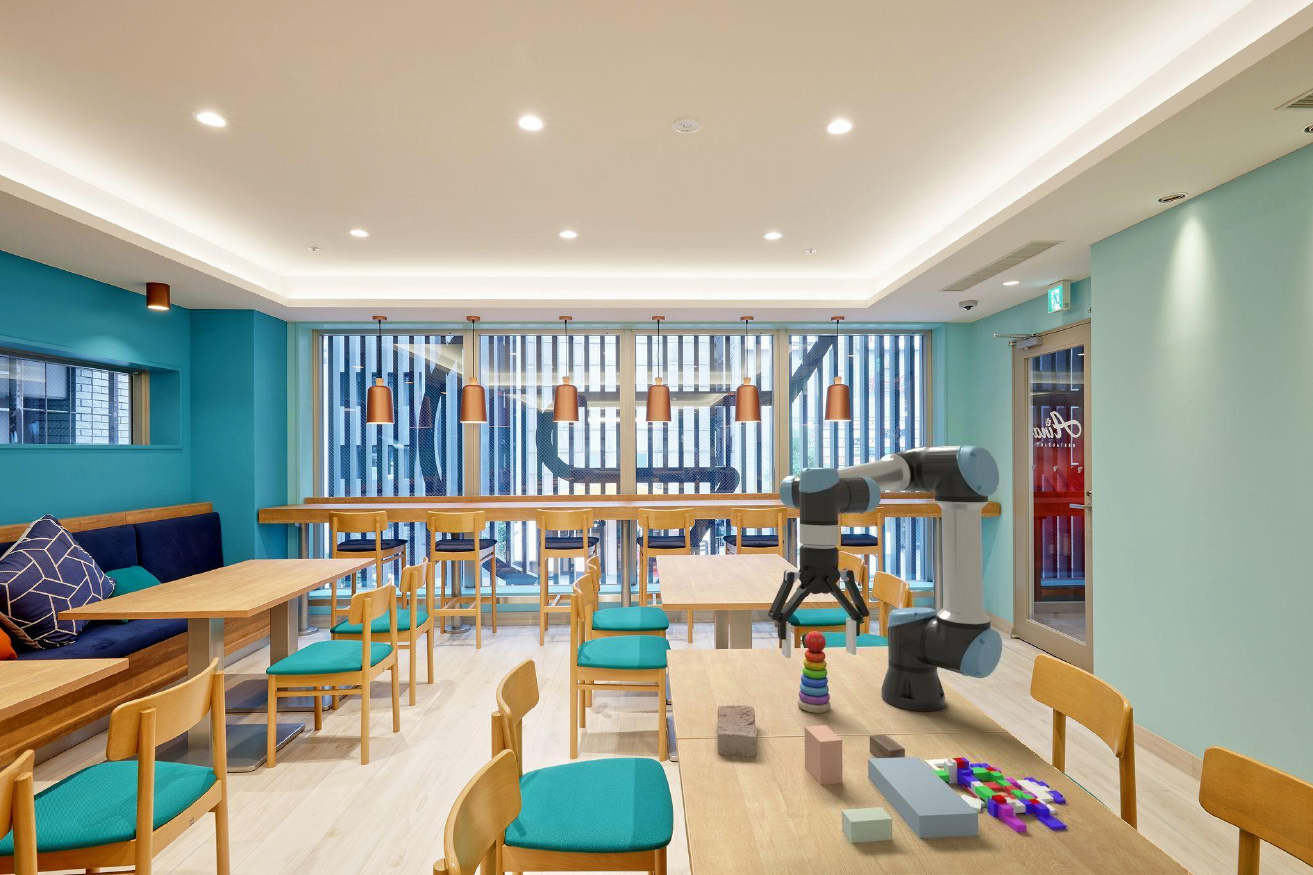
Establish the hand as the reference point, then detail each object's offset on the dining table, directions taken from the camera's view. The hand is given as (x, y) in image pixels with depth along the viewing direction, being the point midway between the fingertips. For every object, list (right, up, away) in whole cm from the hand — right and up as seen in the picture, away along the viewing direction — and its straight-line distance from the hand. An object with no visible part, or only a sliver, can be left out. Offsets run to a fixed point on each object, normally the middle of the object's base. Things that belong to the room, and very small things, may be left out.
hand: (819, 654), depth 126 cm
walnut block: (+15, -23, +6) cm, 29 cm away
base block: (+15, -23, -12) cm, 30 cm away
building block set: (+31, -24, -7) cm, 40 cm away
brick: (-14, -24, +15) cm, 32 cm away
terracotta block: (0, -23, -1) cm, 23 cm away
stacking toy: (+7, -24, +33) cm, 41 cm away
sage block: (+2, -22, -21) cm, 31 cm away
